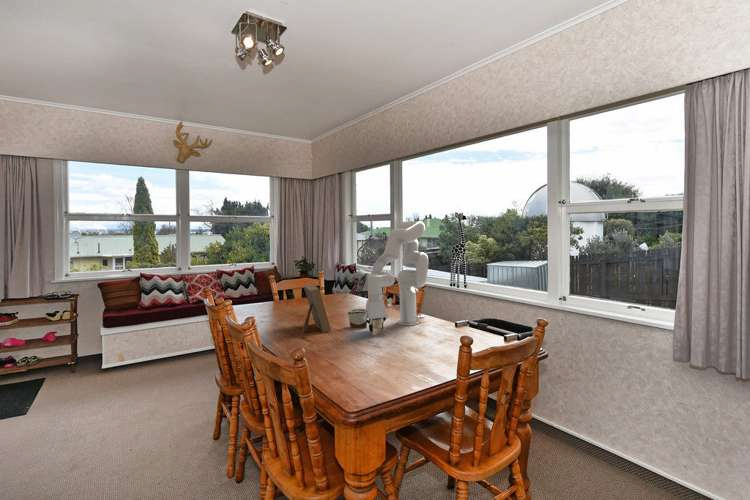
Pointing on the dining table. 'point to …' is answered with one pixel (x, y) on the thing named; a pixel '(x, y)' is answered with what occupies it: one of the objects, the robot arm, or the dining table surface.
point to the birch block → (377, 326)
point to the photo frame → (316, 308)
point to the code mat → (363, 335)
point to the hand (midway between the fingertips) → (376, 330)
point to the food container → (357, 318)
